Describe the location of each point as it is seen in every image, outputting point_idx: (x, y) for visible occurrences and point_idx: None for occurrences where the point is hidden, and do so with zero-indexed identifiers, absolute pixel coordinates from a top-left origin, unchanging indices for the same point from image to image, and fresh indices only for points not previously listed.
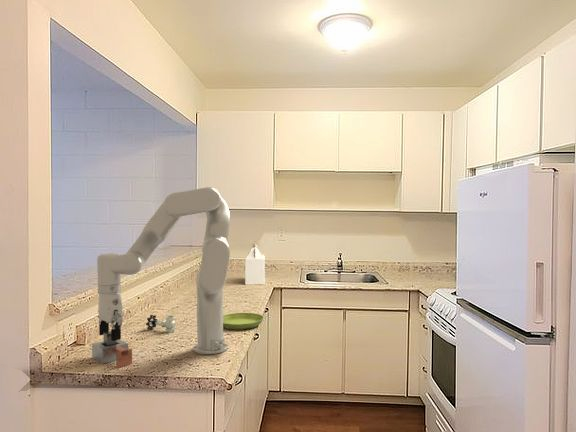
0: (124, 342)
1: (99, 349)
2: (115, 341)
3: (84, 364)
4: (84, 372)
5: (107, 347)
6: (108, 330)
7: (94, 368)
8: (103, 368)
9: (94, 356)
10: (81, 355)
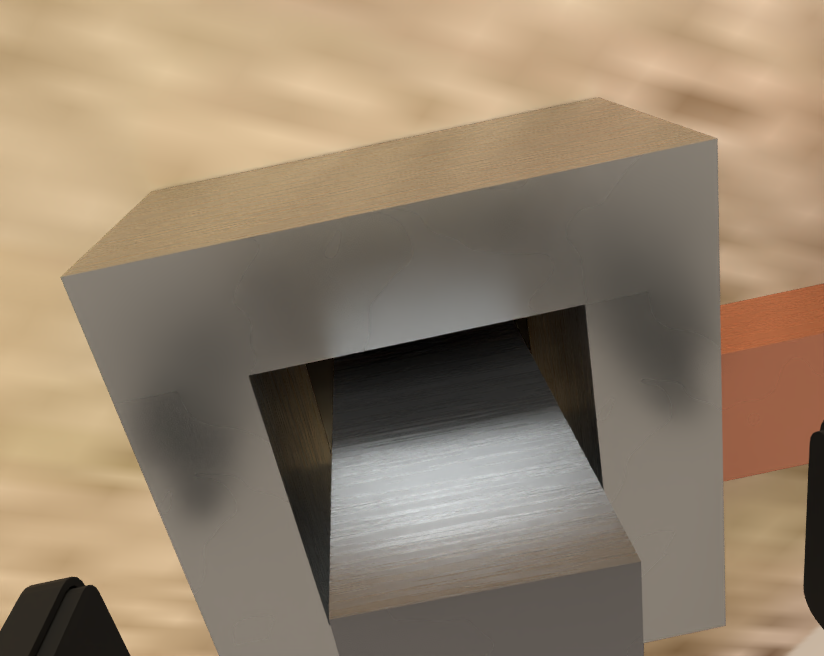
0: (567, 196)
1: None
2: (555, 421)
3: None
4: (755, 650)
5: (677, 552)
6: (60, 652)
7: None
8: (790, 483)
9: None
10: None
